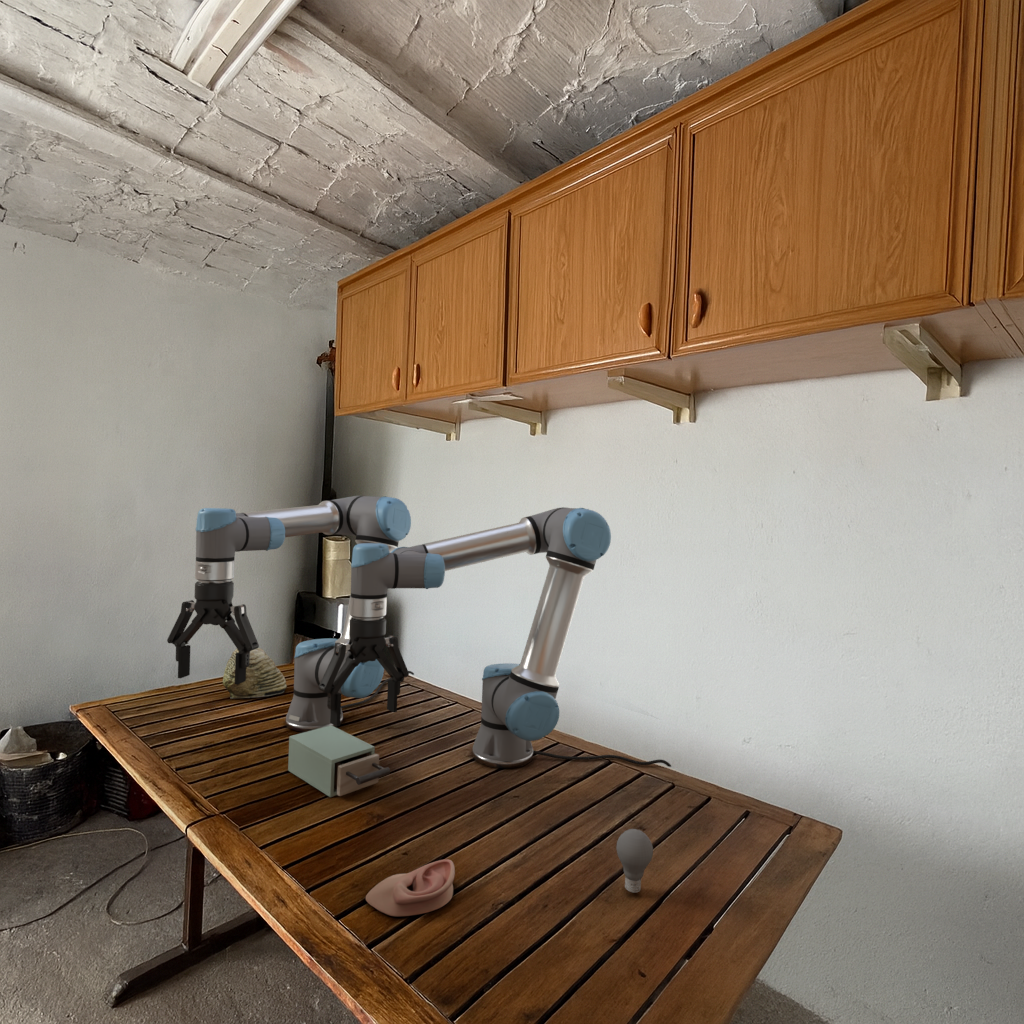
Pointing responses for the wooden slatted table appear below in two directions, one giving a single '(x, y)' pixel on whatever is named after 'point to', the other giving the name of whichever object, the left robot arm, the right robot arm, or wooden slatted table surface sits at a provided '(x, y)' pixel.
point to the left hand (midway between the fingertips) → (211, 679)
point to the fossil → (255, 677)
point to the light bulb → (634, 857)
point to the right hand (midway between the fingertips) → (364, 717)
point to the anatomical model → (414, 890)
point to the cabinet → (323, 755)
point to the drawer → (357, 773)
